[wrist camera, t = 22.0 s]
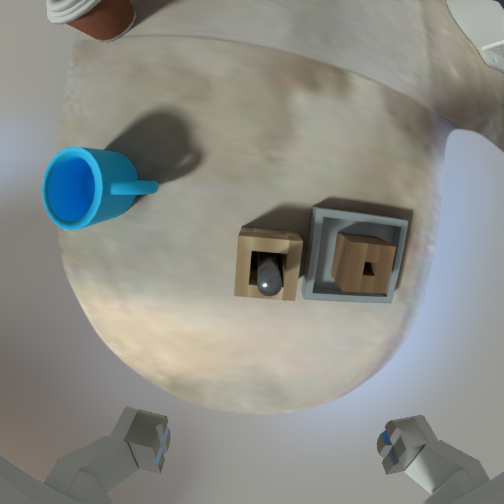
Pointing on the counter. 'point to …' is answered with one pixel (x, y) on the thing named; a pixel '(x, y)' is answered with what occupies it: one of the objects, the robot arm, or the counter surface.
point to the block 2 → (362, 263)
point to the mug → (90, 186)
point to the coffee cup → (94, 16)
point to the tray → (323, 246)
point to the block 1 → (268, 242)
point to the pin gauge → (268, 274)
